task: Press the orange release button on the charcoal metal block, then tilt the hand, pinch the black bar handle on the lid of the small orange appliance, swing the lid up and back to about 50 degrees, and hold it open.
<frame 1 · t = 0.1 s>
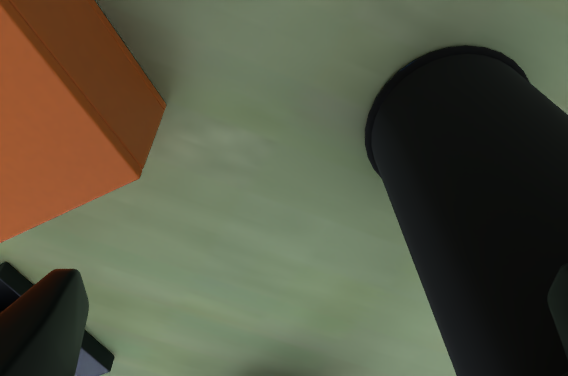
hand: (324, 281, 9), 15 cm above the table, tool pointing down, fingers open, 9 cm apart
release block: (16, 333, 31), on the table
aerosol can: (445, 124, 24), on the table
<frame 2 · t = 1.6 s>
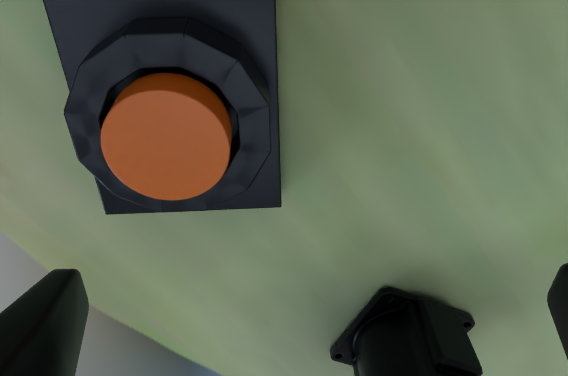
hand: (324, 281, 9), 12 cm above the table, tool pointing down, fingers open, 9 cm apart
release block: (181, 98, 20), on the table
button: (169, 138, 17), point 3 cm above the table, slide at 0.1 cm
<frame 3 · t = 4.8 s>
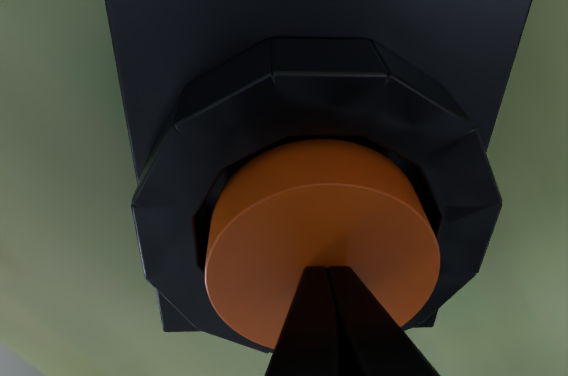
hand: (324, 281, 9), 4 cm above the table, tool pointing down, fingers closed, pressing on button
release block: (305, 165, 12), on the table
button: (318, 253, 10), point 3 cm above the table, slide at 0.0 cm, touching gripper
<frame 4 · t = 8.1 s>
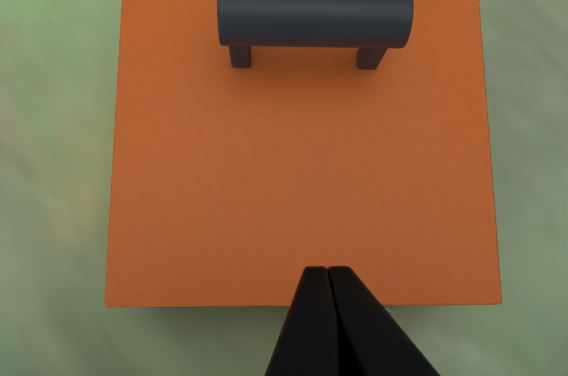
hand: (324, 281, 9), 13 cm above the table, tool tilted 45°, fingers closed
lid: (309, 114, 15), point 8 cm above the table, hinge at 0.0°
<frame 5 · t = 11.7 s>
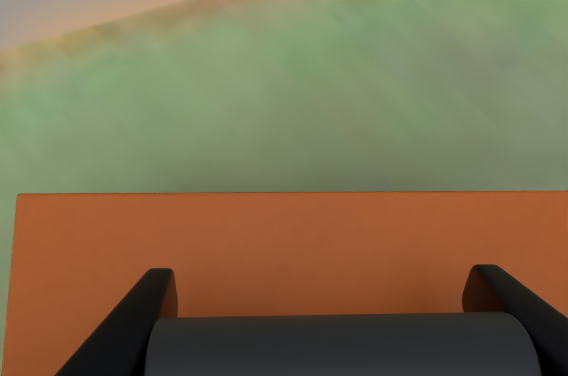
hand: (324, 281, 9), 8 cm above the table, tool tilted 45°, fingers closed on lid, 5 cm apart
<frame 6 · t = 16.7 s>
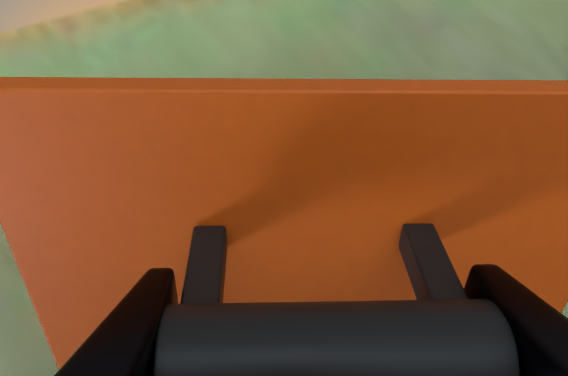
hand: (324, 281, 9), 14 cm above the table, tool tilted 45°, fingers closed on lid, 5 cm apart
lid: (314, 375, 11), point 12 cm above the table, hinge at 46.4°, touching gripper
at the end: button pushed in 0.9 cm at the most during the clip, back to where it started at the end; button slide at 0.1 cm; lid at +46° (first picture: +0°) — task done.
